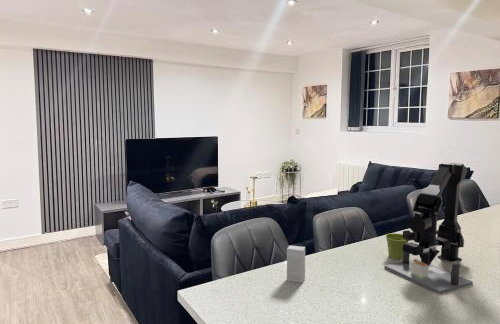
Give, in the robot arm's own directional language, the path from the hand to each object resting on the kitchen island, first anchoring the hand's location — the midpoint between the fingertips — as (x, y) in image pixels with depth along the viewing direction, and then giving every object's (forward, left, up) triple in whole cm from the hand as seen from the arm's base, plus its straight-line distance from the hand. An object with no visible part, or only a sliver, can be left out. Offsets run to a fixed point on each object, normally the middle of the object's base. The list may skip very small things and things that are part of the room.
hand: (425, 268), depth 140 cm
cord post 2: (-2, +10, -2) cm, 11 cm away
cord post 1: (-2, -11, -2) cm, 11 cm away
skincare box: (+44, -18, -3) cm, 48 cm away
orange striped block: (+3, 0, -2) cm, 3 cm away
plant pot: (-6, -19, -3) cm, 20 cm away
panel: (-1, 0, -3) cm, 3 cm away
